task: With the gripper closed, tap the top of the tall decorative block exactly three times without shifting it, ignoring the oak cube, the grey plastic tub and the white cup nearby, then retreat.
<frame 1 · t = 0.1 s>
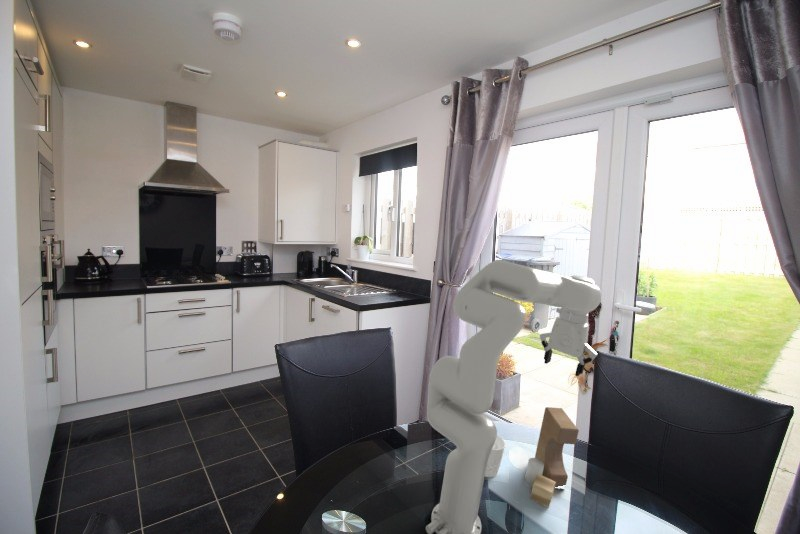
hand: (562, 368, 122), 31 cm above the table, fingers open, 9 cm apart
grey tub: (532, 480, 117), on the table
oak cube: (541, 497, 111), on the table
decorative block: (548, 476, 120), on the table
white cup: (486, 470, 119), on the table
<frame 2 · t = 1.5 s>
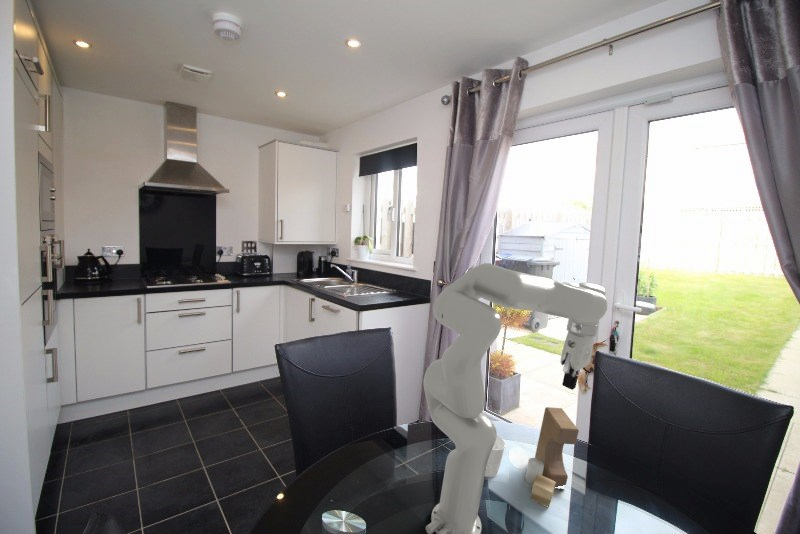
hand: (568, 386, 113), 30 cm above the table, fingers closed
nothing on the table moved.
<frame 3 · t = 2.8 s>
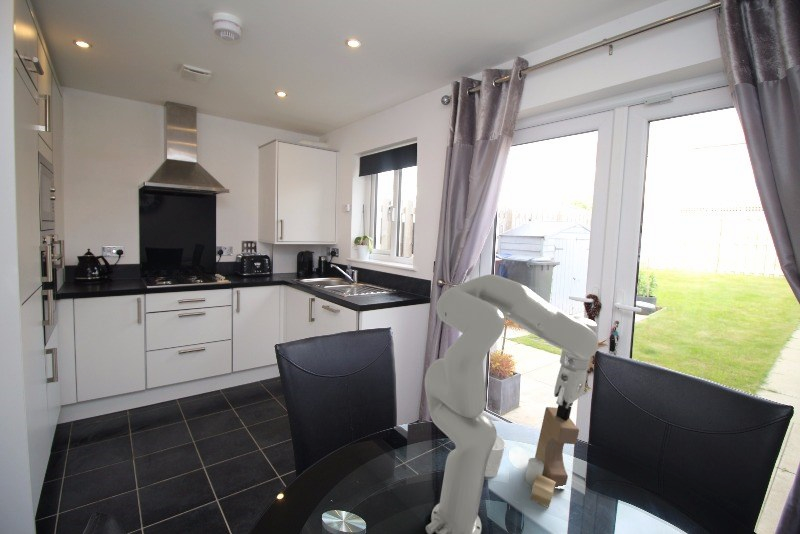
hand: (562, 417, 115), 20 cm above the table, fingers closed
decorative block: (548, 476, 120), on the table, touching gripper
everything else where it was.
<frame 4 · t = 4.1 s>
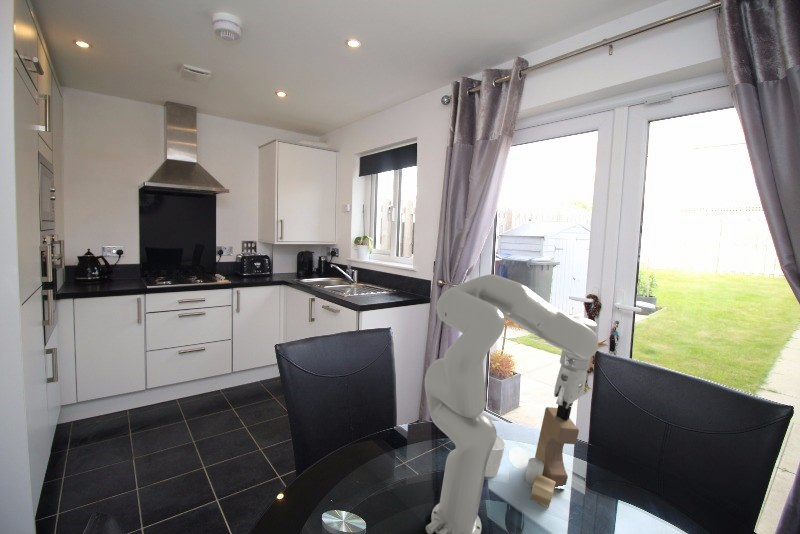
hand: (562, 417, 115), 20 cm above the table, fingers closed
nothing on the table moved.
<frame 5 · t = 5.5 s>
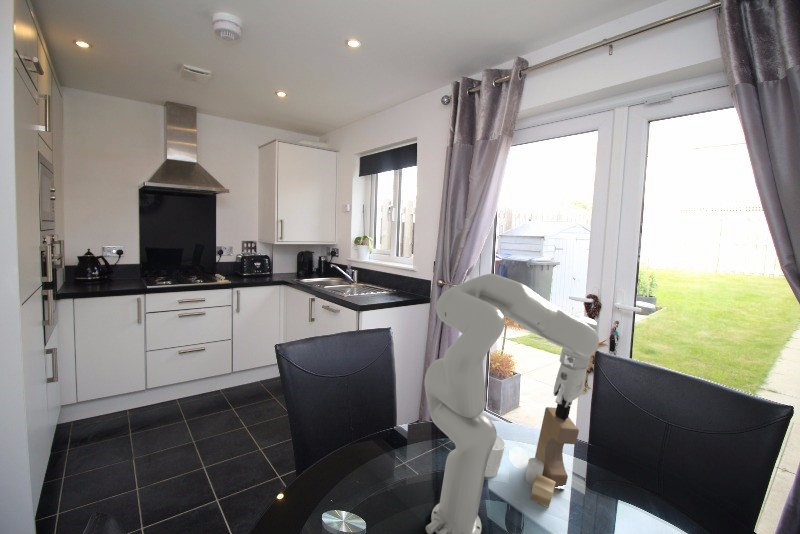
hand: (561, 416, 115), 20 cm above the table, fingers closed
decorative block: (548, 476, 120), on the table
everything else where it was.
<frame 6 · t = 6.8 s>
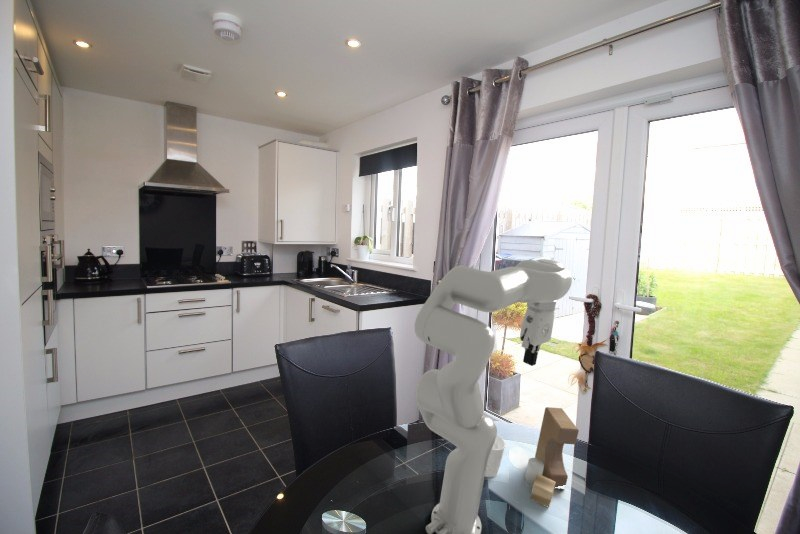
hand: (529, 363, 114), 35 cm above the table, fingers closed
nothing on the table moved.
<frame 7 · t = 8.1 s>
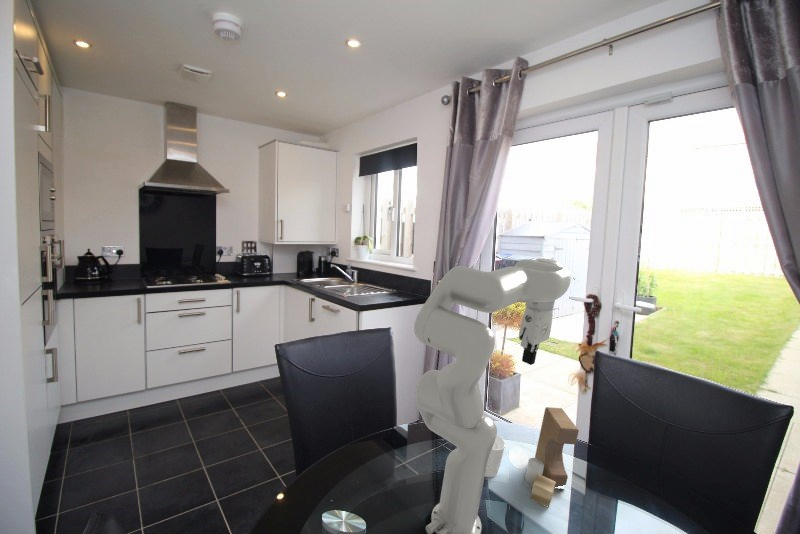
hand: (528, 362, 114), 35 cm above the table, fingers closed
nothing on the table moved.
at the end: decorative block moved 0.2 cm from its start; decorative block tilted 0°; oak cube moved 0.1 cm from its start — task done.
